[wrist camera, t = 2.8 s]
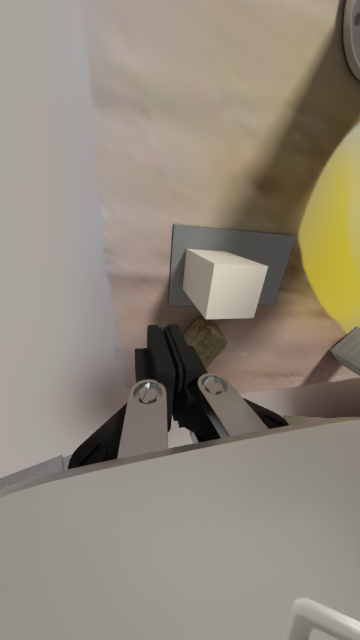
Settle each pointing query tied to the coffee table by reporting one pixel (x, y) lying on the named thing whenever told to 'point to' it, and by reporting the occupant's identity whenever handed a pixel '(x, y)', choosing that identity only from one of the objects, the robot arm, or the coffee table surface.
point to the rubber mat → (241, 243)
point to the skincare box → (349, 351)
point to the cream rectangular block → (223, 283)
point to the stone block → (205, 340)
